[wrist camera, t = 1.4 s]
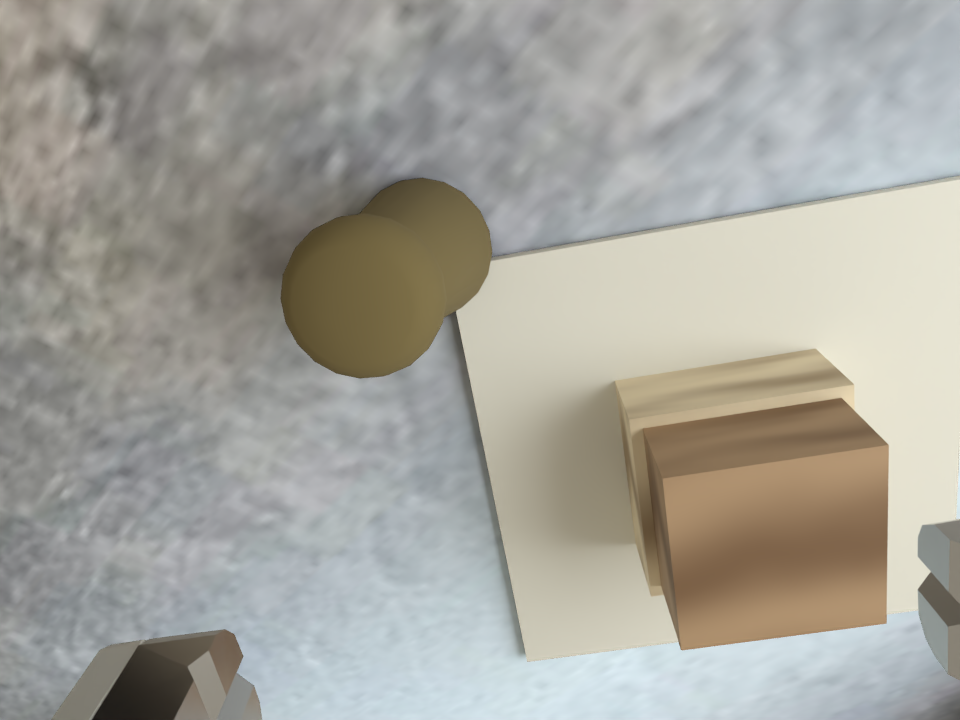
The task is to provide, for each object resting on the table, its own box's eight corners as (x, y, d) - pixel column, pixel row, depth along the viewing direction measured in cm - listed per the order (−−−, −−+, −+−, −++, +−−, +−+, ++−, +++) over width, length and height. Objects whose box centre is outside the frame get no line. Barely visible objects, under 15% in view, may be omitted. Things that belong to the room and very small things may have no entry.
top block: (642, 428, 32) (662, 478, 28) (841, 397, 31) (888, 444, 28) (660, 586, 35) (681, 650, 31) (843, 560, 34) (886, 623, 30)
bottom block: (614, 380, 35) (629, 419, 32) (815, 348, 35) (854, 384, 31) (635, 544, 39) (651, 596, 35) (819, 517, 38) (855, 568, 34)
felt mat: (447, 265, 34) (447, 268, 34) (965, 174, 32) (973, 176, 32) (526, 653, 42) (527, 661, 42) (945, 598, 40) (951, 605, 40)
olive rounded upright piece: (437, 344, 35) (373, 442, 24) (328, 261, 34) (215, 324, 24) (520, 238, 33) (490, 294, 22) (406, 147, 32) (321, 162, 22)
